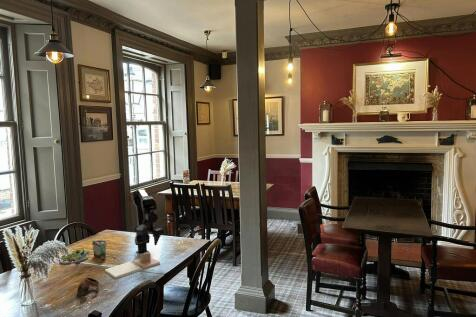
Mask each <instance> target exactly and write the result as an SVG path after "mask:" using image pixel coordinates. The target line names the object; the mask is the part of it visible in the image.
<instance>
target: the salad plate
mask: <svg viewBox="0 0 476 317" xmlns="http://www.w3.org/2000/svg"><path fill="white" fill-rule="evenodd" d="M67 254H68V255H67V256H65V254H63V256H62V255H60V256H61V260H59V262H60V263H61V264H63V265H69V264H70V265H71V263H72V264H77V262H78V263H81V262H84V261H86V260H87V259H88V258H89V254H90V251H89V250H87V251H85V250H84V248H83V247H82V248H80V247H79V248H76V249H74V250H73V251H72V252H71V253H67ZM62 260H64V262H63V261H62ZM65 260H67V262H66V261H65ZM70 260H71V261H70ZM72 261H73V262H72ZM80 261H81V262H80Z"/></svg>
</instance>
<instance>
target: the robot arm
mask: <svg viewBox="0 0 476 317" xmlns="http://www.w3.org/2000/svg"><path fill="white" fill-rule="evenodd" d="M131 200H132V203H133V205H134V206H135V209H136V220H137V225H136V226H135V227H134V232H135V237H134V244H135V245H136V246H137V251H135V253H136V254H138V255H140V254H142V253H145V252H149V253H150V251H149V250H148V246H147V245H148V244H149V243H150V237H151V236H150V233H152V237H153V243H154V246H157V245H158V242H159V240H160V238H161V236H162V235H163V234H165V229H164V228H160V227H158V228H157V227H156V225H155V223H156V222H157V221H158V219H159V216H158V214H157V213H156V212H155V211H157V209H158V205H157V202H156V201H157V200H156V199H154V197H153V196H151V195H150V196H149V195H148V193H147V191H146V189H145V188H137V189H136V190H135V191H134V192H133V193H132V194H131Z"/></svg>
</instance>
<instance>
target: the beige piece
mask: <svg viewBox="0 0 476 317" xmlns="http://www.w3.org/2000/svg"><path fill="white" fill-rule="evenodd" d="M139 255H140V258H137V259H134V260H131V262H133V263H135V264H136V265H138V266H140V267H142V270H145V269H148V268H151V267H155V266H158V265H160V263H161V262H160V261H159V260H157V259H155V258H153V257H151V252H150V251H149V252H145V253H142V254H139Z"/></svg>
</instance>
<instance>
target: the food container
mask: <svg viewBox="0 0 476 317" xmlns="http://www.w3.org/2000/svg"><path fill="white" fill-rule="evenodd" d="M91 244H92V250H93V258H95V257H96V259H97V258H98V259H97V260H99V259H100V260H99V261H102V260H105V259H106V258H107V257H106V256H107V254H106V253H107V251H106V250H107V246H108V244H107V241H105V240H102V239H101V240H93V241H92V242H91Z"/></svg>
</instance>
